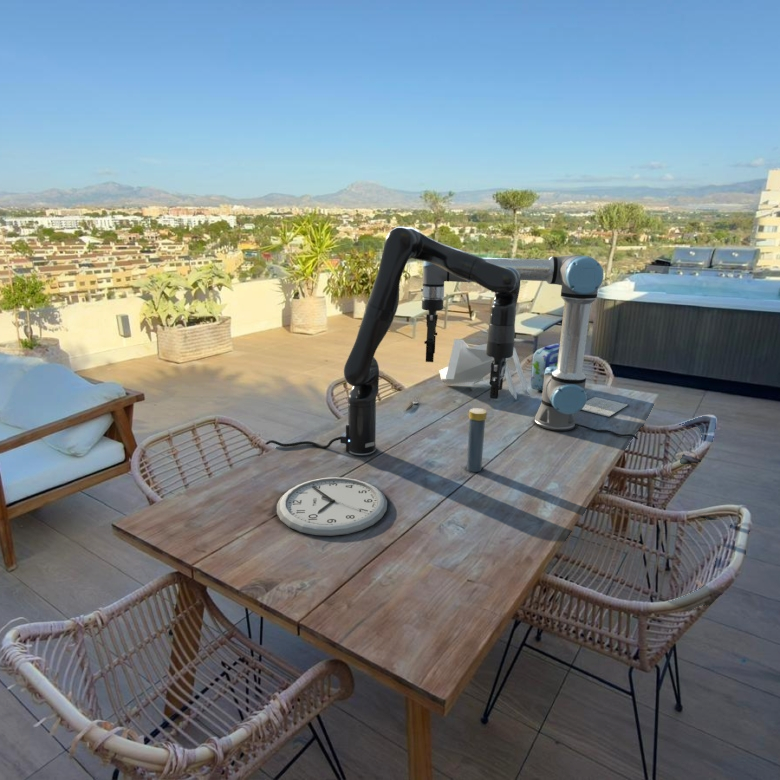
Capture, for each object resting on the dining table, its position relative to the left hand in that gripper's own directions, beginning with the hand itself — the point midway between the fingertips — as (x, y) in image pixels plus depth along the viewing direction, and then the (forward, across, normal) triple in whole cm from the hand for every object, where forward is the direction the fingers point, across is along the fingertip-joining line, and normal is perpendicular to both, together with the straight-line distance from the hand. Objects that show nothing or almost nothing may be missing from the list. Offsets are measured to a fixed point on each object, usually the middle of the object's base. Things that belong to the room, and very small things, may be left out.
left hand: (496, 393), depth 153 cm
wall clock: (+27, +33, -38) cm, 57 cm away
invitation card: (+27, -84, +36) cm, 95 cm away
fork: (+27, -54, -41) cm, 73 cm away
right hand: (-1, -31, -28) cm, 42 cm away
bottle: (+27, -4, -5) cm, 28 cm away
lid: (+8, -4, -5) cm, 10 cm away
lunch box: (+27, -105, +14) cm, 109 cm away
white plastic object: (+27, -85, -17) cm, 91 cm away
